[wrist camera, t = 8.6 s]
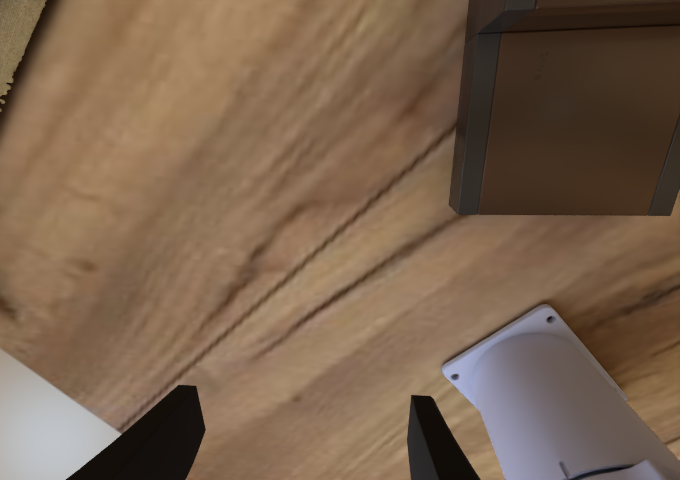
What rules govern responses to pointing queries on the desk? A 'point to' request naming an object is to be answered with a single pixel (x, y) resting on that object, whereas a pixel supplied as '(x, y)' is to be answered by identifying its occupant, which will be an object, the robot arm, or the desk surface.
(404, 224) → the desk surface
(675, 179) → the dark stepped block
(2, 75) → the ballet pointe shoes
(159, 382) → the desk surface
